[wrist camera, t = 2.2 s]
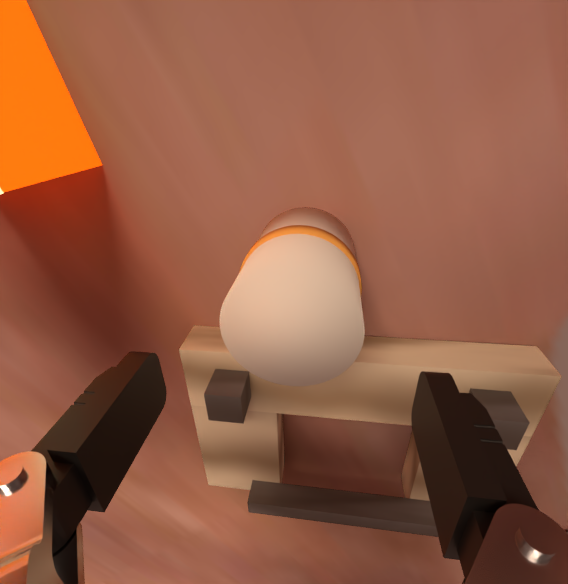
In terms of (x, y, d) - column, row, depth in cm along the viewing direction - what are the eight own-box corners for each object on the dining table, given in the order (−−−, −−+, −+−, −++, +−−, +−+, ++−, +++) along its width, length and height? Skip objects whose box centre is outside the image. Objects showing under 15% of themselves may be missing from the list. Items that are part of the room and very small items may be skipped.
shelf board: (194, 325, 21) (163, 373, 18) (537, 346, 19) (587, 408, 15) (217, 456, 28) (199, 512, 24) (477, 484, 25) (502, 553, 22)
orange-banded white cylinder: (252, 204, 17) (207, 260, 11) (361, 206, 17) (375, 266, 10) (258, 296, 20) (224, 382, 14) (352, 301, 19) (360, 393, 13)
